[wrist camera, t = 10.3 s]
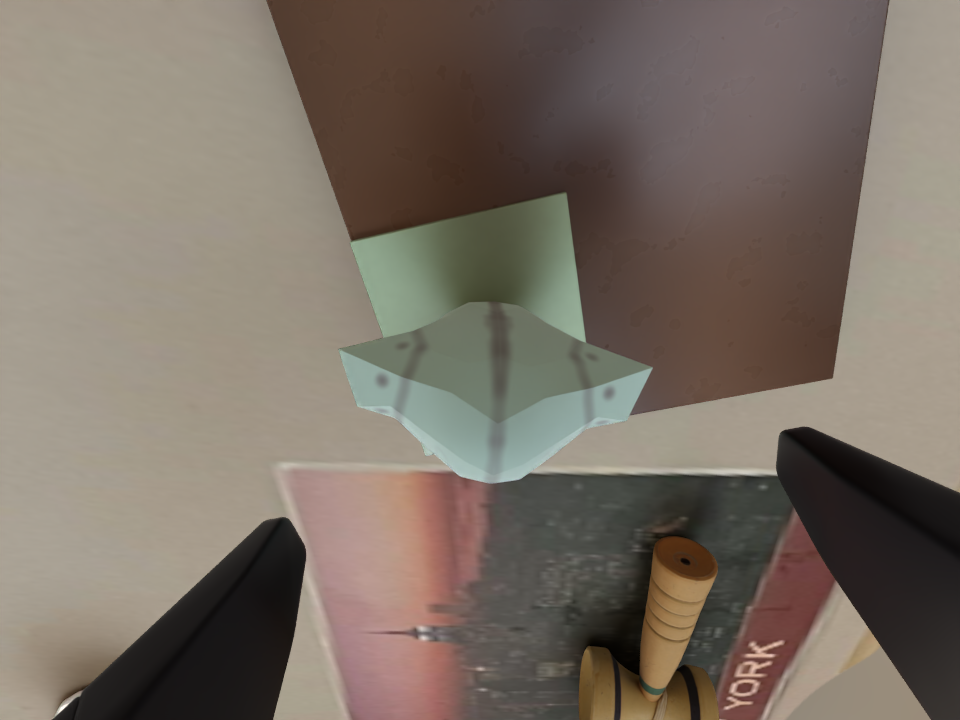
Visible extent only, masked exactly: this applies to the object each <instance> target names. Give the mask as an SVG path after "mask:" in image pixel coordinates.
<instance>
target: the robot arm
mask: <svg viewBox="0 0 960 720" xmlns="http://www.w3.org/2000/svg"><path fill="white" fill-rule="evenodd" d="M776 470H777V475H778V477H779V480H780V482H781V484H782V486H783V487H784V489H785V491H786V493H787V495H788V497H789V499H790V501H791V502H792V504H793V506H794V508H795V510H796V512H797V514H798V515H799V517H800V519H801V521H802V523H803V525H804V527H805V528H806V530H807V532H808V534H809V536H810V538H811V540H812V541H813V543H814V545H815V547H816V549H817V551H818V552H819V554H820V556H821V558H822V559H823V561H824V563H825V564H826V566H827V567H828V569H829V570H830V572H831V573H832V575H833V576H834V578H835V579H836V581H837V582H838V584H839V585H840V587H841V588H842V590H843V591H844V593H845V594H846V596H847V597H848V598H849V600H850V601H851V603H852V604H853V606H854V607H855V609H856V610H857V612H858V613H859V615H860V616H861V618H862V619H863V620H864V622H865V623H866V625H867V626H868V628H869V629H870V631H871V632H872V634H873V635H874V637H875V638H876V640H877V641H878V642H879V644H880V645H881V647H882V648H883V650H884V651H885V653H886V654H887V655H888V657H889V659H890V660H891V661H892V663H893V664H894V666H895V667H896V669H897V670H898V672H899V673H900V675H901V676H902V678H903V679H904V681H905V682H906V683H907V685H908V686H909V688H910V689H911V691H912V692H913V694H914V695H915V697H916V698H917V700H918V701H919V703H920V704H921V706H922V707H923V708H924V710H925V711H926V713H927V714H928V716H929V717H930V719H931V720H960V493H959V492H956V491H954V490H952V489H950V488H947V487H945V486H943V485H940V484H938V483H936V482H934V481H931V480H929V479H927V478H924V477H922V476H920V475H918V474H915V473H913V472H911V471H908V470H906V469H904V468H902V467H899V466H897V465H895V464H892V463H890V462H888V461H886V460H883V459H881V458H879V457H876V456H874V455H872V454H870V453H867V452H865V451H863V450H860V449H858V448H856V447H854V446H851V445H849V444H847V443H844V442H842V441H840V440H838V439H835V438H833V437H831V436H828V435H826V434H824V433H822V432H819V431H817V430H815V429H812V428H809V427H799V428H793V429H788V430H784V431H782V432H781V433H780V435H779V440H778V451H777V462H776ZM305 562H306V549H305V545H304V543H303V542H302V540H301V538H300V536H299V535H298V533H297V531H296V529H295V528H294V526H293V524H292V523H291V521H290V520H289V519H288V518H286V517H281V518H275V519H269V520H266V521H264V522H263V523H261V524H260V525H259V526H258V527H257V528H256V529H255V530H254V531H253V532H252V533H251V534H250V535H249V536H247V537H246V538H245V539H244V540H243V541H242V542H241V543H240V544H239V545H238V546H237V547H236V548H235V549H234V550H233V551H231V552H230V553H229V554H228V555H227V556H226V557H225V558H224V559H223V560H222V561H221V562H220V563H219V564H218V565H217V566H215V567H214V568H213V569H212V570H211V571H210V572H209V573H208V574H207V575H206V576H205V577H204V578H203V579H202V580H201V581H199V582H198V583H197V584H196V585H195V586H194V587H193V588H192V589H191V590H190V591H189V592H188V593H187V594H186V595H185V596H183V597H182V598H181V599H180V600H179V601H178V602H177V603H176V604H175V605H174V606H173V607H172V608H171V609H170V610H169V611H167V612H166V613H165V614H164V615H163V616H162V617H161V618H160V619H159V620H158V621H157V622H156V623H155V624H154V625H152V626H151V627H150V628H149V629H148V630H147V631H146V632H145V633H144V634H143V635H142V636H141V637H140V638H139V639H138V640H136V641H135V642H134V643H133V644H132V645H131V646H130V647H129V648H128V649H127V650H126V651H125V652H124V653H123V654H122V655H120V656H119V657H118V658H117V659H116V660H115V661H114V662H113V663H112V664H111V665H110V666H109V667H108V668H107V669H106V670H104V671H103V672H102V673H101V674H100V675H99V676H98V677H97V678H96V679H95V680H94V681H93V682H92V683H91V684H90V685H88V686H87V687H86V688H85V689H84V690H83V691H82V692H81V695H80V696H78V697H76V698H74V699H73V700H72V701H71V702H70V703H69V704H68V705H67V706H66V707H65V708H64V709H63V710H62V711H61V712H60V713H59V714H57V715H56V716H55V717H54V718H53V719H52V720H273V717H274V713H275V709H276V705H277V701H278V698H279V694H280V690H281V686H282V682H283V678H284V674H285V670H286V666H287V662H288V659H289V655H290V651H291V646H292V642H293V638H294V632H295V627H296V621H297V614H298V608H299V601H300V595H301V588H302V582H303V575H304V569H305Z"/></svg>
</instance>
